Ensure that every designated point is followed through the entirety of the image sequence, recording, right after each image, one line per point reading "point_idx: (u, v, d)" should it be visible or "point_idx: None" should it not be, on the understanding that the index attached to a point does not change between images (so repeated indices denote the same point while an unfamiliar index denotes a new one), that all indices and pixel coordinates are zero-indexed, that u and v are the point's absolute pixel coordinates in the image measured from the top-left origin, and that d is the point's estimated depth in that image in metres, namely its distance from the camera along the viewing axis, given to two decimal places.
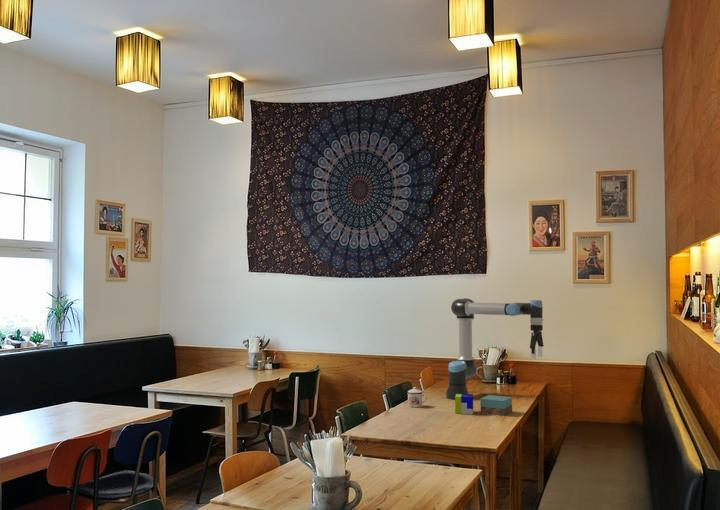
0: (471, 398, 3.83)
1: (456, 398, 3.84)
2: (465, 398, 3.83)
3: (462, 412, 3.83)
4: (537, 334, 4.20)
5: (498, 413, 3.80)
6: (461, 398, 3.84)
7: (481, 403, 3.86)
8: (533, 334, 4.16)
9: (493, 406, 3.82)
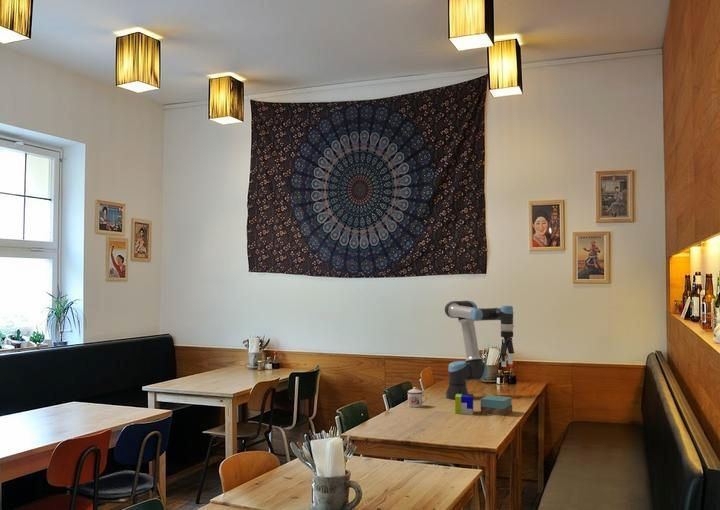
0: (471, 398, 3.83)
1: (456, 398, 3.84)
2: (465, 398, 3.83)
3: (462, 412, 3.83)
4: (507, 341, 4.06)
5: (498, 413, 3.80)
6: (461, 398, 3.84)
7: (481, 403, 3.85)
8: (503, 341, 4.02)
9: (493, 406, 3.82)
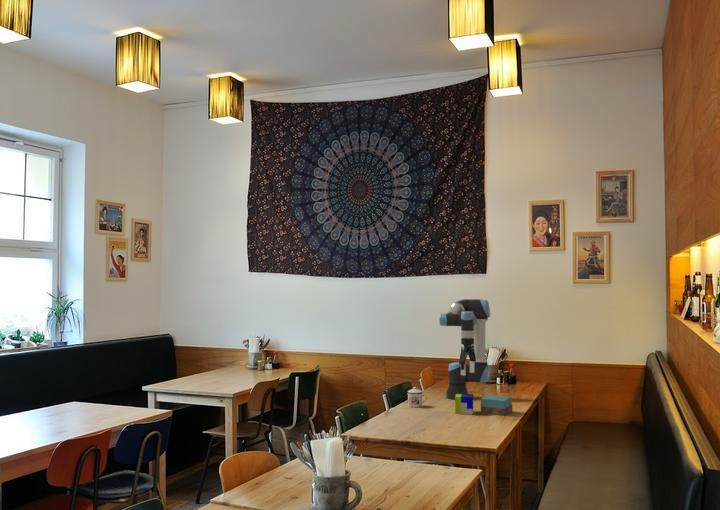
0: (471, 398, 3.83)
1: (456, 398, 3.84)
2: (465, 398, 3.83)
3: (462, 412, 3.83)
4: (468, 348, 3.88)
5: (498, 413, 3.80)
6: (461, 398, 3.84)
7: (481, 403, 3.85)
8: (463, 348, 3.85)
9: (494, 406, 3.82)
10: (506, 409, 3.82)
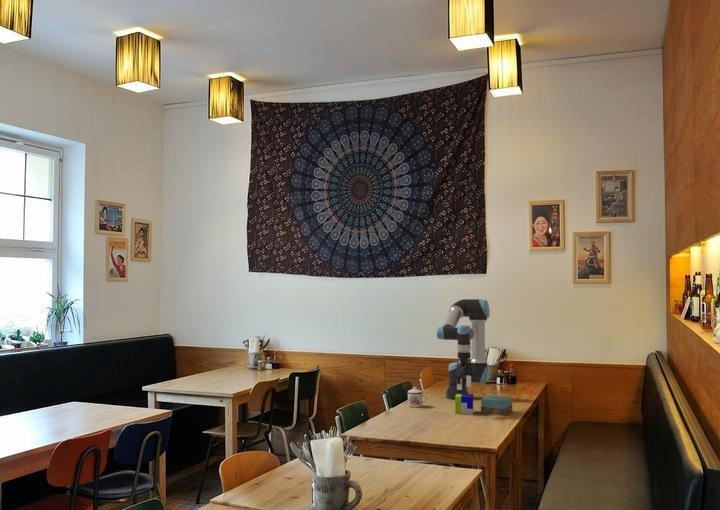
0: (471, 398, 3.83)
1: (456, 398, 3.84)
2: (465, 398, 3.83)
3: (462, 412, 3.83)
4: (464, 362, 3.87)
5: (498, 413, 3.80)
6: (461, 398, 3.84)
7: (482, 403, 3.85)
8: (459, 363, 3.83)
9: (494, 406, 3.81)
10: (506, 409, 3.82)
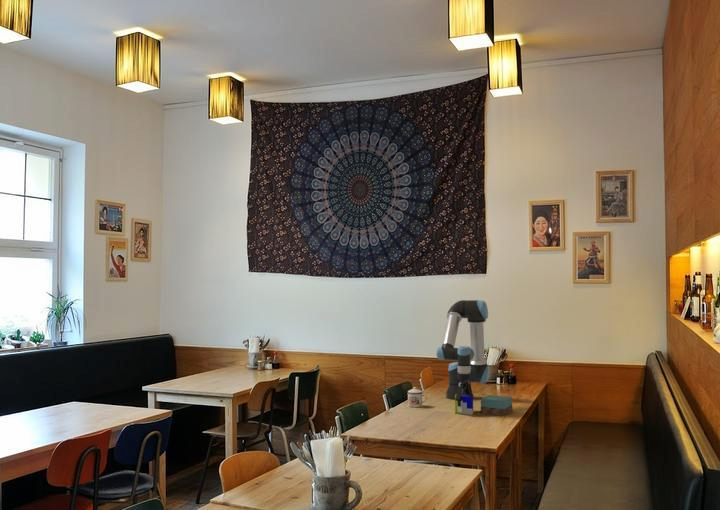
0: (471, 398, 3.83)
1: None
2: (465, 398, 3.83)
3: (462, 412, 3.83)
4: (464, 384, 3.86)
5: (498, 413, 3.80)
6: None
7: (481, 403, 3.85)
8: (459, 385, 3.83)
9: (494, 406, 3.81)
10: (506, 409, 3.82)
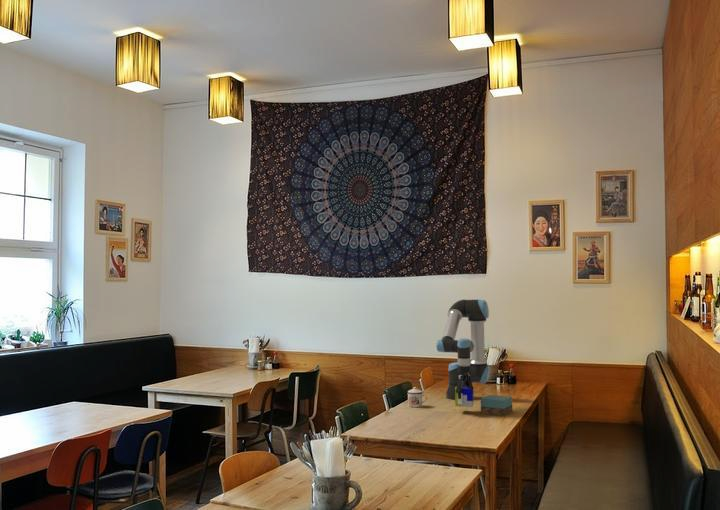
0: (471, 390, 3.83)
1: None
2: (465, 390, 3.84)
3: (462, 404, 3.84)
4: (464, 376, 3.87)
5: (498, 413, 3.80)
6: None
7: (481, 403, 3.85)
8: (459, 377, 3.83)
9: (493, 406, 3.81)
10: (506, 409, 3.82)
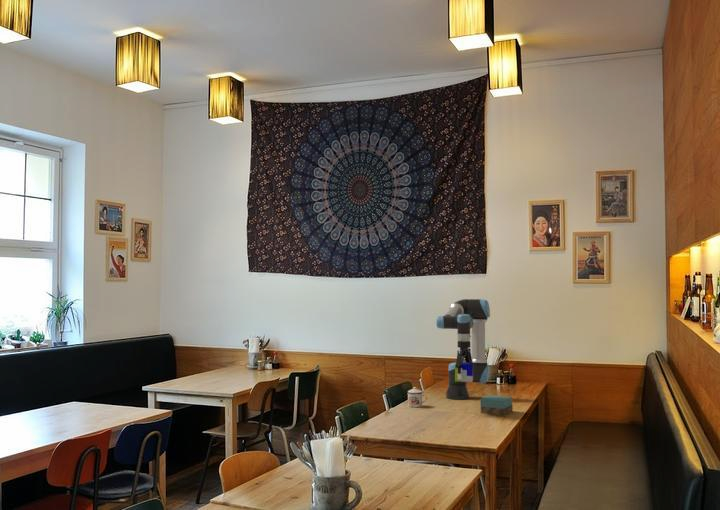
0: (471, 365, 3.83)
1: None
2: (465, 365, 3.84)
3: (462, 379, 3.84)
4: (464, 351, 3.87)
5: (498, 413, 3.80)
6: None
7: (481, 403, 3.86)
8: (459, 352, 3.83)
9: (493, 406, 3.82)
10: (506, 409, 3.82)
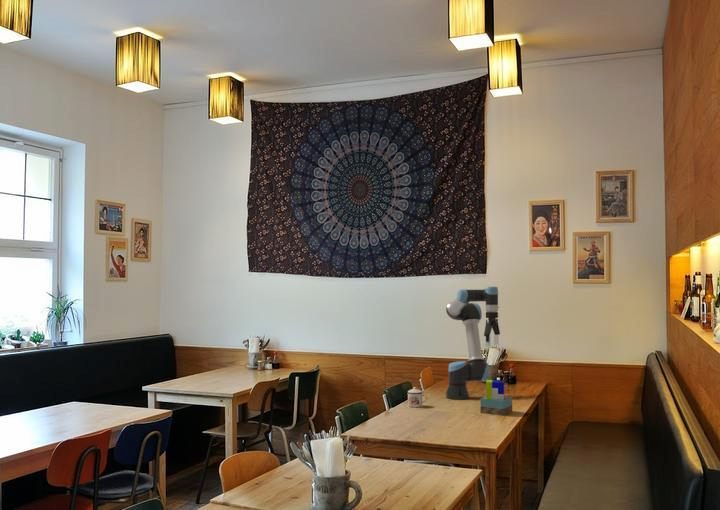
0: (502, 383, 3.83)
1: (487, 383, 3.85)
2: (496, 383, 3.84)
3: (493, 397, 3.84)
4: (492, 322, 4.07)
5: (498, 413, 3.81)
6: (492, 383, 3.84)
7: (481, 403, 3.86)
8: (488, 321, 4.03)
9: (493, 406, 3.82)
10: (505, 409, 3.82)
